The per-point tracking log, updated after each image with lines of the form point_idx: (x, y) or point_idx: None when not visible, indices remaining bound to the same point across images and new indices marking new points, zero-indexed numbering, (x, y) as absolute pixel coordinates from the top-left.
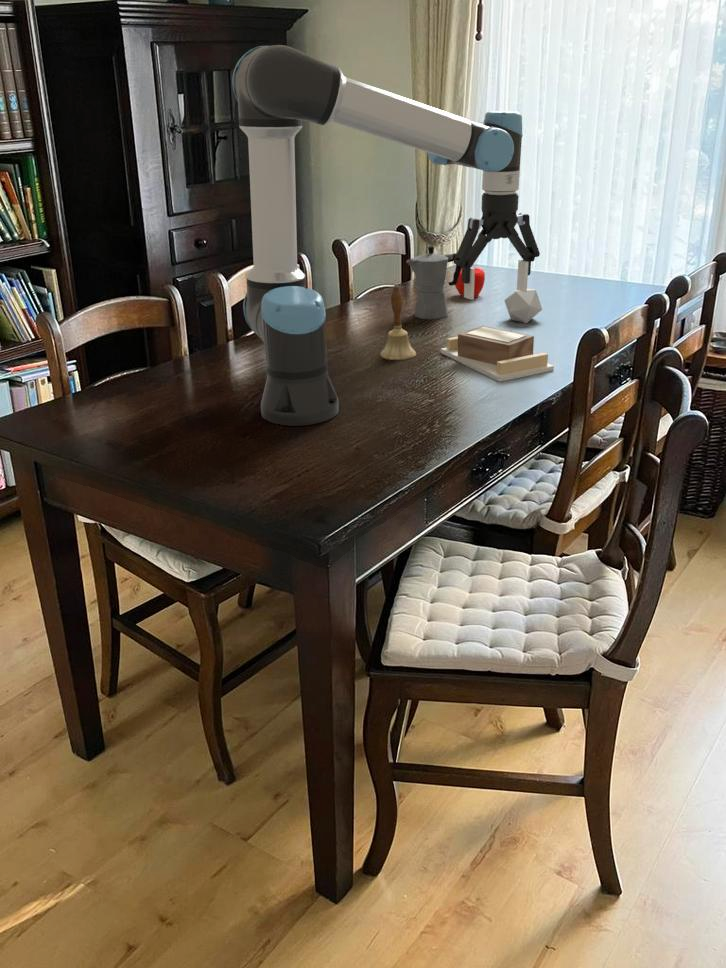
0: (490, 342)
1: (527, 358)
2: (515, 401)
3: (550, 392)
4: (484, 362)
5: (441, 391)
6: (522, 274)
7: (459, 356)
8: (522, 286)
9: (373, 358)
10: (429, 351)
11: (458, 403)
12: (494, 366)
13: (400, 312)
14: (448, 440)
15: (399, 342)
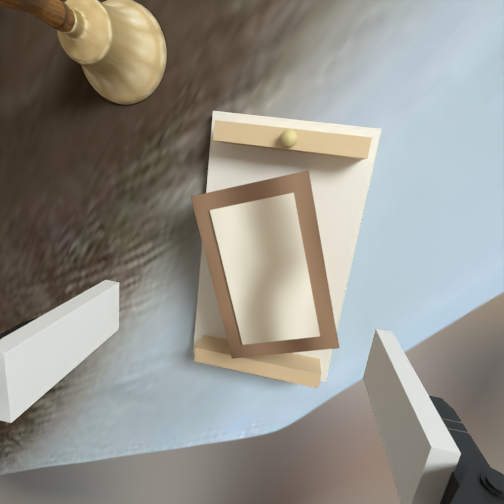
0: (218, 303)
1: (262, 375)
2: (158, 424)
3: (230, 438)
4: None
5: None
6: (388, 419)
7: None
8: (370, 381)
9: None
10: (201, 81)
11: (81, 372)
12: None
13: (33, 8)
14: (9, 448)
15: (87, 69)
